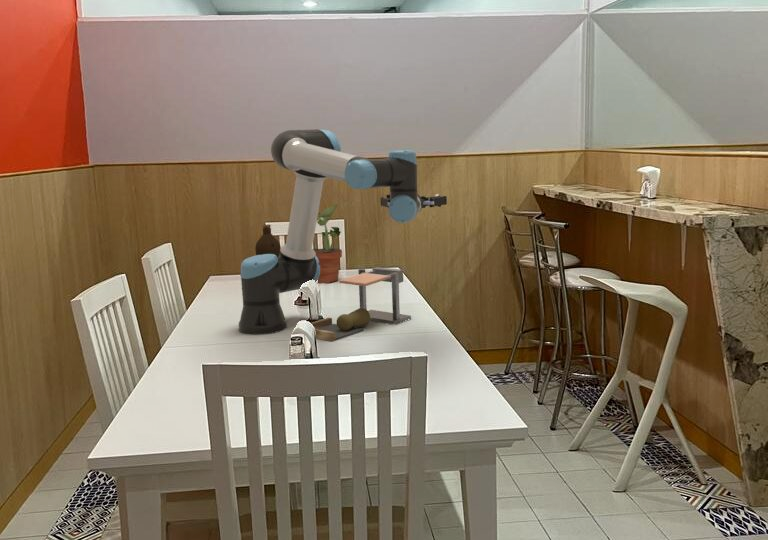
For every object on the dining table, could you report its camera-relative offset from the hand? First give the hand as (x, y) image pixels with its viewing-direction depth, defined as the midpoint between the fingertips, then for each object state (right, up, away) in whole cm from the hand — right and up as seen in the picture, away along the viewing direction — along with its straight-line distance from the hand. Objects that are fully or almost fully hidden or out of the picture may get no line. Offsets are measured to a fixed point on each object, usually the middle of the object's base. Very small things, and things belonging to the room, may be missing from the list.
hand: (416, 198), depth 235 cm
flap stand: (-11, -39, +13) cm, 42 cm away
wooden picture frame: (-26, -42, -3) cm, 50 cm away
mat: (-25, -42, -3) cm, 49 cm away
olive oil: (-59, -28, +84) cm, 106 cm away
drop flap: (-14, -28, +8) cm, 32 cm away
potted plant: (-35, -27, +85) cm, 96 cm away
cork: (-17, -37, +4) cm, 41 cm away
